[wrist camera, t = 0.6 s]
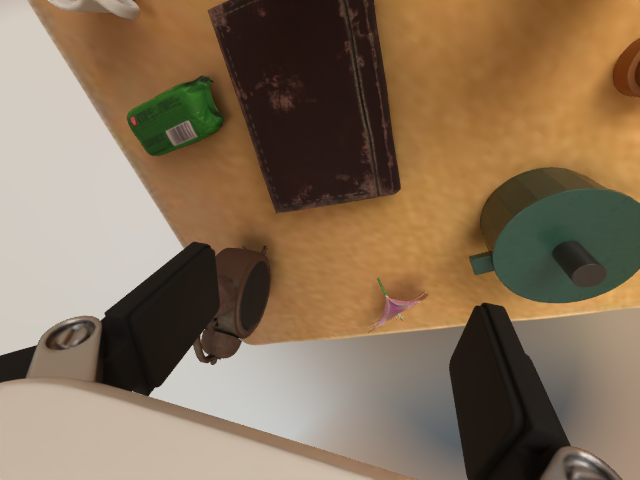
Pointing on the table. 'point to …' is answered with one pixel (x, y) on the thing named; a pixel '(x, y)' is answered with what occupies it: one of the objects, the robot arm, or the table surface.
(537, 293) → the pot lid
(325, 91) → the diary
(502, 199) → the pot
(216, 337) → the alarm clock
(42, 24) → the table surface
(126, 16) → the cup
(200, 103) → the snack package
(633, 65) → the brown domed piece
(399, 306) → the lily
